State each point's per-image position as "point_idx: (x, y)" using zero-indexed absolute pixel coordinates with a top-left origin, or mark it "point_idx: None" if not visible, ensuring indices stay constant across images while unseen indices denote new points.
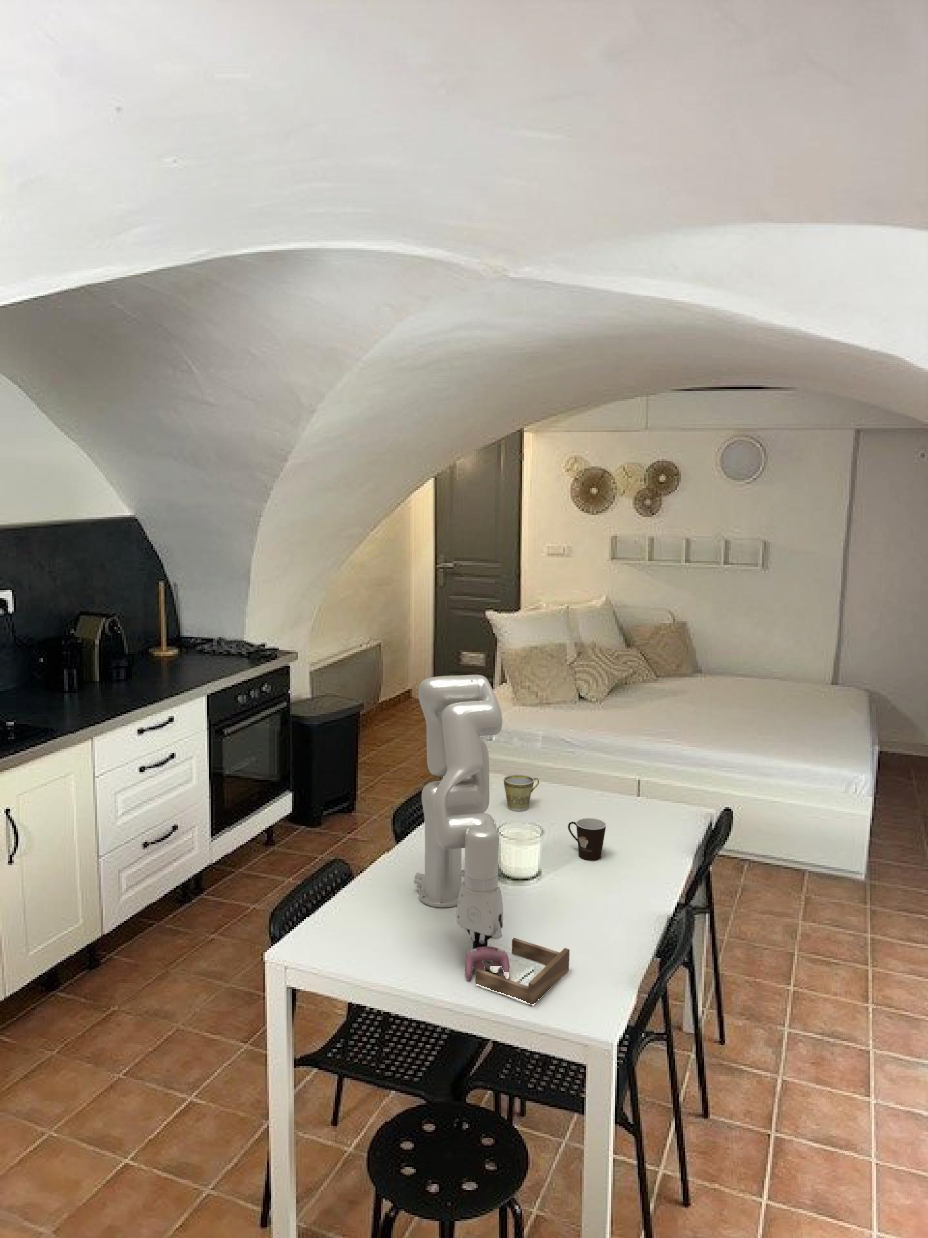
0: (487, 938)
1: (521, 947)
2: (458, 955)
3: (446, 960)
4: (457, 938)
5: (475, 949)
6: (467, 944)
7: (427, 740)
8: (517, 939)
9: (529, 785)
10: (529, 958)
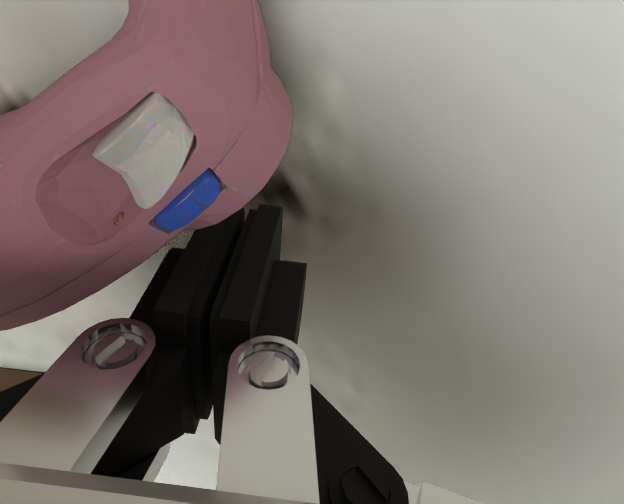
0: (9, 410)
1: None
2: (471, 244)
3: (559, 129)
4: (550, 410)
5: (138, 195)
6: (456, 378)
7: None
8: None
9: None
10: (14, 376)
